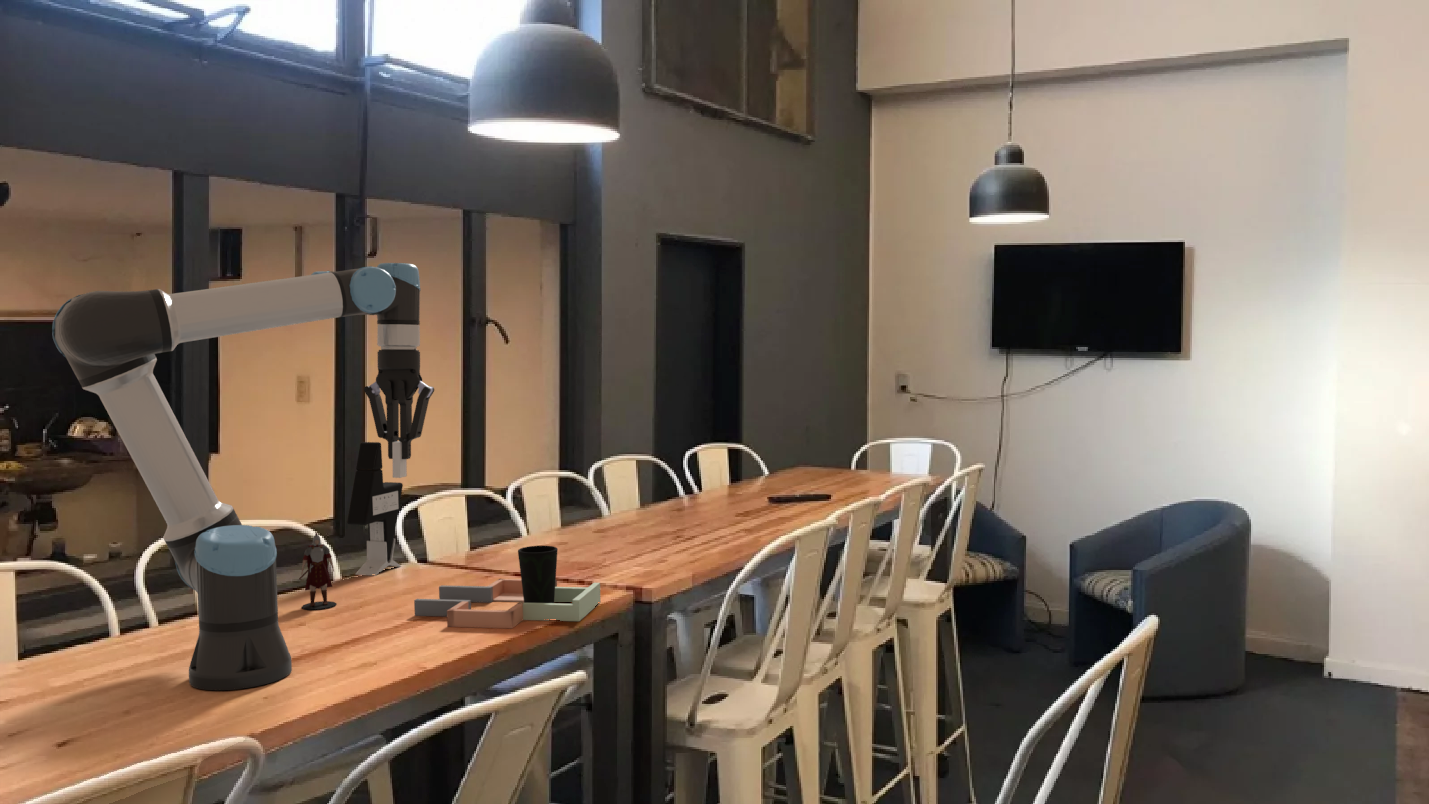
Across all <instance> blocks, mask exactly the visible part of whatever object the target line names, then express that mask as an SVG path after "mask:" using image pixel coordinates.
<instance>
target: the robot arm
mask: <svg viewBox="0 0 1429 804" xmlns="http://www.w3.org/2000/svg"><path fill="white" fill-rule="evenodd" d="M420 294H421V281H420V272H419V268H418V267H417V266H416V265H415V264H413V263H407V262H406V263H404V262H403V263H402V262H382V263H381V262H380V263H379V264H378V265H377V266H372V265H370V266H362V267H360V268H354V269H353V268H352V269H347V270H340V271H330V270H327V271H322V270H320V271H319V270H317V271H313V272H312V273H311V274H308V275H301V276H294V277H288V278H281V279H279V278H278V279H272V280H266V281H264V280H263V281H258V282H250V283H249V282H248V283H243V284H235V285H234V284H233V285H227V286H222V287H221V286H220V287H213V288H206V289H199V290H198V289H197V290H191V291H190V290H189V291H184V292H176V293H166V292H165V291H163V290H162V289H160V288H156V289H150V290H149V289H147V290H137V291H136V290H134V291H130V290H129V291H127V290H126V291H116V290H95V291H89V292H86V293H83V294H78V295H76V296H74V297H72V298H70V299H68V300H67V301H65V303H63V304H62V305H61V306H60V307H59V309H58V310H57V312H56V314H55V316H54V318H53V321H52V328H51V329H52V332H51V333H52V339H53V342H54V344H55V347H56V348H57V350H58V352H59V353H60V354H62V356H63V357H65V359H66V360H67V362H68V364H69V365H70V367H71V369H72V371H73V373H74V375H75V377H76V378H77V380H78V382H79V384H80V386H81V388H82V389H83V390H85V391H88V392H90V393H94V394H95V395H97V396H98V397H99V399H100V401H101V403H102V405H103V406H104V409H105V410H106V411H107V414H108V415H109V418H110V419H111V422H112V423H113V426H114V427H115V429H116V431H117V433H118V434H119V437H120V439H121V440H122V442H123V444H124V446H125V448H126V449H127V452H128V453H129V455H130V458H131V460H132V461H133V462H134V465H135V467H136V468H137V470H138V472H139V474H140V476H141V477H142V480H143V481H144V483H145V486H146V487H147V489H148V492H150V494H151V495H150V496H152V498H153V501H154V502H155V504H156V507H157V508H158V510H159V511H160V513H161V516H162V517H163V519H164V521H165V523H166V525H167V526H166V530H165V532H164V534H163V541H164V542H165V544H166V546H167V548H168V549H169V551H170V554H171V555H172V557H173V559H174V563H175V567H176V571H177V573H178V576H179V577H180V579H181V580H182V581H183V582H184V584H185V585H187V586H188V587H189V588H191V590H194V591H195V592H196V593H197V608H198V613H197V614H198V635H197V636H198V637H197V640H196V644H195V646H194V650H193V654H192V655H191V661H190V663H189V666H188V681H189V682H188V683H189V685H190V686H191V687H193V688H194V689H195V688H196V689H199V690H206V691H230V690H241V689H243V690H244V689H248V688H254V687H258V686H259V687H260V686H264V685H266V684H271V683H274V682H277V681H279V680H281V679H284V678H286V677H287V676H289V675H290V674H291V673H292V671H293V668H292V667H293V664H292V656H291V655H292V654H291V653H290V652H289V651H290V650H289V648H288V646H287V643H286V640H285V637H284V636H283V632H282V631H281V628H280V625H279V606H278V581H277V579H278V578H277V556H278V555H277V554H278V553H277V551H278V550H277V547H276V543H275V537H274V535H273V534H272V532H271V531H269V529H266V528H265V527H260V526H253V525H248V524H246V525H245V524H242V522H241V521H240V518H239V516H238V514H237V513H236V511H235V509H234V507H233V505H232V504H228V503H224V502H221V501H220V500H219V498H218V497H217V495H216V493H215V491H214V489H213V488H212V485H211V483H210V481H209V480H208V477H207V475H206V473H205V472H204V470H203V468H202V466H201V464H200V462H199V460H198V458H197V456H196V454H195V452H194V450H193V448H192V447H191V444H190V442H189V441H188V439H187V437H186V435H185V433H184V431H183V429H182V427H181V425H180V423H179V421H178V419H177V417H176V415H175V414H174V412H173V410H172V408H171V406H170V403H169V402H168V400H167V398H166V396H165V394H164V392H163V390H162V388H161V386H160V384H159V382H158V380H157V379H156V376H155V375H154V369H155V367H156V363H157V361H158V359H157V356H156V354H161V353H167V352H173V351H174V350H175V348H176V347H177V345H179V344H182V343H187V342H193V341H199V340H201V341H202V340H206V339H212V338H218V337H224V336H230V335H236V334H237V335H238V334H242V333H243V334H244V333H248V332H250V333H251V332H254V331H263V330H268V329H273V328H281V327H285V326H286V327H287V326H293V325H298V324H299V325H300V324H304V323H305V324H306V323H311V322H318V321H324V320H330V319H336V318H344V317H350V316H356V315H357V316H358V315H359V316H362V315H363V316H364V315H367V316H376V318H377V321H376V324H377V336H376V338H377V340H376V341H377V343H376V345H377V346H378V347H380V349H378V351H377V375H376V377H375V381H374V382H373V383H371V384H370V385H367V386H366V385H365V386H364V388H363V392H364V393H365V395H366V396H367V397H368V400H369V404H370V409H371V413H372V417H373V421H374V426H375V430H376V434H377V437H378V438H380V439H381V438H382V439H383V440H386V441H387V457H388V459H389V460H392V478H395V479H397V478H398V479H401V478H405V477H407V476H408V475H407V474H408V473H407V467H408V466H407V464H408V462H407V460H410V459H411V456H412V441H413V440H416V439H418V438H421V436H422V433H423V428H424V424H425V420H426V415H427V410H428V406H429V401H430V398H431V397H432V395H433V394H434V392H435V388H434V386H432V385H431V386H429V385H428V384H427V383H425V382H424V381H423V377H422V375H421V372H420V371H421V351H420V350H419V349H417V347H420V345H421V331H420V330H421V327H420V324H421V323H420V322H421V321H420V317H421V316H420V314H421V313H420V307H421V306H420V304H421V303H420V302H421V297H420V296H421V295H420ZM381 392H382V394H383V395H384V399H385V405H386V412H385V409H384V405H383V401H382V400H383V399H382V396H381V394H380V393H381ZM416 392H417V393H418V396H417V399H416V404H415V408H414V414H413V415H412V412H413V409H412V408H413V407H412V406H413V402H414V395H415V394H416Z"/></svg>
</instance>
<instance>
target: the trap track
mask: <svg viewBox="0 0 1429 804" xmlns="http://www.w3.org/2000/svg"><path fill="white" fill-rule="evenodd" d="M438 596H439V598H415V599H414V600H413V601H414V616H415V617H417V616H419V617H447V618H446V621H447V622H446V623H447V627H453V628H483V629H484V628H486V629H487V628H490V629H514V627H516V626H517V625H518V624H520V623H521V622H523V621H547V620H546V619H549V620H550V619H556V620H560V621H559V622H562V621H563V622H581V620H583V619H584V618H585V617H586V616H587V615H589V613H590V612H591V611H593V610H594V609H595V608H596V607H597V606H598V605H599V604H598V602H600V603H601V582H593V583H592V584H590V585H589V586H588V587H587V586H586V587H584V586H583V587H581V586H580V587H579V586H558V580H557V579H556V582H555V597H554V602H572V603H524V597H523V589H522V581H521V578H498V579H496V580H495V581H493V582H492V583H489V584H488V585H487V586H485V585H483V586H482V585H480V586H479V585H478V586H477V585H439V587H438ZM493 602H510V603H511V602H513V603H515V602H517V603H516V604H514V605H513V606H511V607H510V608H509V609H507V610H505V609H503V610H501V609H472V603H489V604H490V603H493ZM597 604H598V605H597ZM596 605H597V606H596ZM595 606H596V607H595ZM544 619H545V620H544ZM549 620H548V621H549Z"/></svg>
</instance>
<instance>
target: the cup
mask: <svg viewBox="0 0 1429 804" xmlns="http://www.w3.org/2000/svg"><path fill="white" fill-rule="evenodd" d="M517 553H518V555H517V556H518V564H519V571H520V579H521V581H522V589H523V597H524V602H523V603H554V597H555V582H556V580H557V578H556V577H557V564H558V563H557V562H558V547H556V546H553V545H531V546H525V547H521V548H519V549H517Z"/></svg>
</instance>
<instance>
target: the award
mask: <svg viewBox="0 0 1429 804" xmlns="http://www.w3.org/2000/svg"><path fill="white" fill-rule="evenodd" d="M382 452H383V451H382V444H381V442H379V441H372V442H370V441H361V442H360V445H359V450H358V457H357V459H356V462H357V463H356V468H355V470H356V471H355V473H354V480H353V485H352V491H351V496H350V497H351V498H350V502H349V508H348V514H347V521H346V522H347V525H353V526H354V525H355V526H367V529H368V531H367V532H368V540H366V561H365V562H364V563H363V564H362V566H360V567H359V569H358V571H356V572H355V575H362V576H373V575H372V574H375V575H374V576H377V575H378V574H380V573H381V572H382V571H383V570H385V569H386V568H387V567H394V568H395V567H396V568H397V567H398V568H401V567H402V565H401V564H399V562H397V561H395V560H394V559H393V557H394V551H395V545H396V538H394V537H395V533H396V526H397V521H398V520H397V519H398V516H399V515H398V514H399V509H400V504H401V498H402V492H403V487H404V484H403V482H396V481H395V482H390V481H389V482H388V481H385V482H384V475H383V470H382V469H383V455H382ZM379 572H380V573H379ZM374 576H373V577H374Z"/></svg>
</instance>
